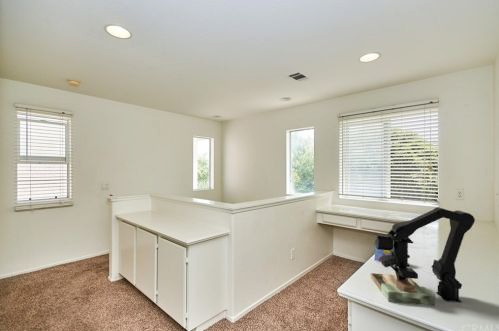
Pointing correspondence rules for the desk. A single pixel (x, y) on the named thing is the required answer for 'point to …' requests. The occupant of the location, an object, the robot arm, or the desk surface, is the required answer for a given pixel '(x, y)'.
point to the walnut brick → (405, 286)
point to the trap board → (393, 294)
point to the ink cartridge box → (381, 253)
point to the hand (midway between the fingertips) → (400, 284)
